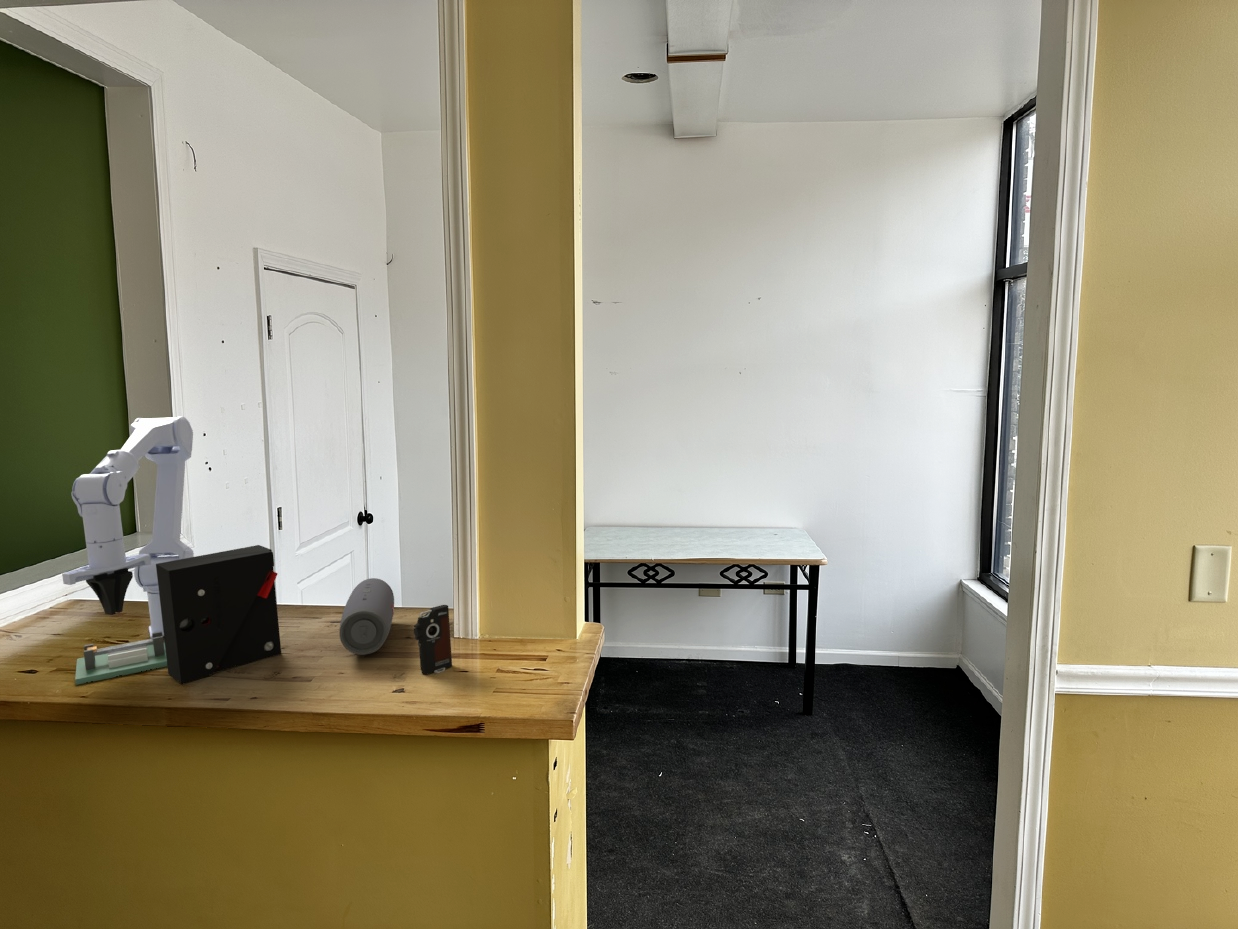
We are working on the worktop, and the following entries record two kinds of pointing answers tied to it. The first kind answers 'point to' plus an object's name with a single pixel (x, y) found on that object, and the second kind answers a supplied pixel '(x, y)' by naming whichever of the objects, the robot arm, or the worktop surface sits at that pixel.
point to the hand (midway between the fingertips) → (113, 612)
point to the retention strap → (121, 647)
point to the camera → (434, 640)
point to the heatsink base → (121, 661)
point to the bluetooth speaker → (367, 617)
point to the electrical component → (218, 611)
